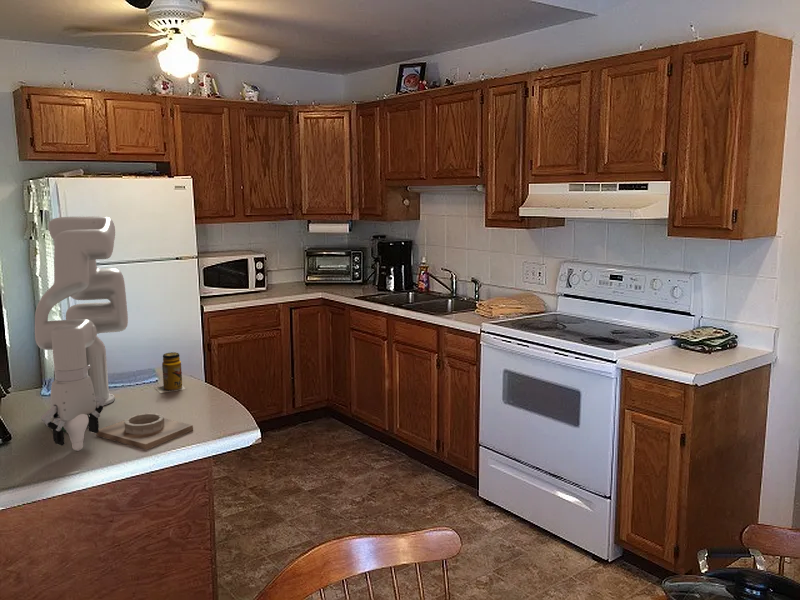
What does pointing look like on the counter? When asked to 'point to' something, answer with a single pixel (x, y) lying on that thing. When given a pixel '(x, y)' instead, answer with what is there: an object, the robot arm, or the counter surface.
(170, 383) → the condiment
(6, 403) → the counter surface
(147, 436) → the socket board
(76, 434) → the lightbulb
